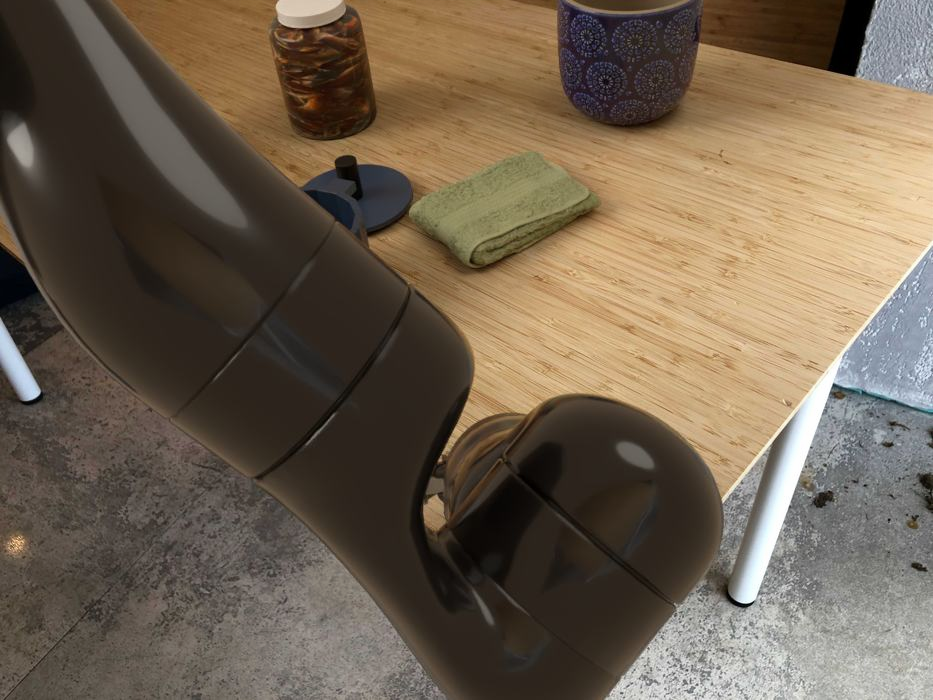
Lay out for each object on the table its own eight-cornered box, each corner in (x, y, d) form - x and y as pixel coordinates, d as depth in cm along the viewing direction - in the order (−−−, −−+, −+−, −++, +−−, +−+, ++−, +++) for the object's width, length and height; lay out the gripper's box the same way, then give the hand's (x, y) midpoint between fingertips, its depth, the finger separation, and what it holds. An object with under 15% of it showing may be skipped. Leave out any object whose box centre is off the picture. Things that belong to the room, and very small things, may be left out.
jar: (396, 107, 111) (379, -9, 101) (336, 149, 104) (310, 29, 94) (331, 88, 117) (308, -24, 106) (270, 126, 110) (239, 11, 100)
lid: (271, 227, 93) (258, 183, 89) (334, 165, 102) (324, 122, 98) (377, 250, 88) (368, 205, 85) (434, 183, 97) (428, 138, 93)
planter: (632, 154, 98) (639, 27, 88) (530, 109, 108) (526, -10, 97) (720, 100, 105) (736, -23, 95) (618, 63, 115) (622, -52, 105)
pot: (209, 337, 81) (181, 266, 75) (309, 232, 92) (291, 163, 86) (319, 368, 76) (298, 296, 70) (409, 254, 88) (398, 183, 82)
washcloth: (607, 210, 90) (608, 184, 88) (473, 280, 84) (470, 254, 81) (530, 163, 98) (529, 138, 96) (403, 222, 92) (398, 197, 90)
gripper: (647, 397, 43) (590, 391, 60) (366, 435, 43) (389, 419, 60) (668, 544, 43) (605, 497, 60) (386, 584, 42) (403, 525, 59)
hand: (497, 458), depth 60 cm, fingers closed on pear, 5 cm apart
